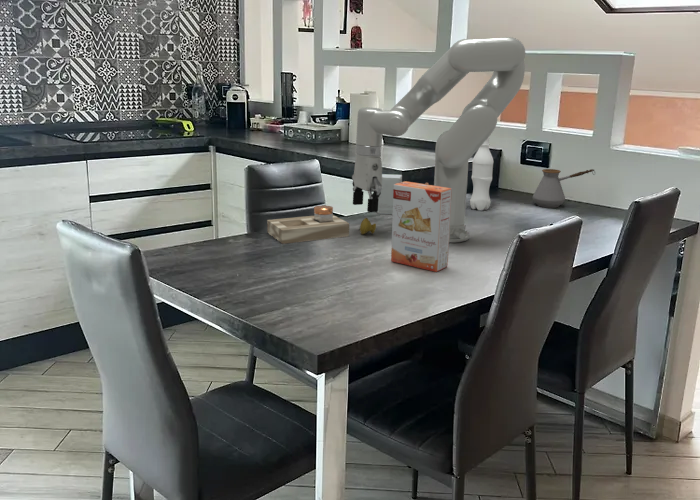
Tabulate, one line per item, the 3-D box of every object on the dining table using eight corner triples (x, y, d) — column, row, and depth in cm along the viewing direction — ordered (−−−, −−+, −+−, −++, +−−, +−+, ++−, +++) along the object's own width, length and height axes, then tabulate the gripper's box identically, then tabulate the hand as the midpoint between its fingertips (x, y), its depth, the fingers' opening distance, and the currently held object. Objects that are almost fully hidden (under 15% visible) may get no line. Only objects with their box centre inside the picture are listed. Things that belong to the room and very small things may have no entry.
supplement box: (398, 215, 229) (399, 178, 226) (376, 214, 231) (377, 177, 227) (401, 210, 236) (402, 174, 233) (380, 209, 238) (381, 173, 234)
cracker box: (389, 262, 178) (392, 183, 172) (402, 257, 182) (405, 180, 177) (436, 273, 170) (440, 190, 164) (448, 267, 174) (452, 187, 168)
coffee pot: (526, 205, 247) (530, 164, 242) (539, 200, 255) (543, 160, 251) (584, 214, 234) (589, 171, 229) (596, 209, 242) (601, 167, 238)
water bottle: (489, 207, 243) (494, 136, 236) (491, 211, 236) (496, 139, 229) (468, 206, 244) (473, 136, 237) (470, 210, 237) (474, 138, 230)
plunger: (335, 223, 203) (335, 208, 202) (318, 225, 201) (318, 210, 200) (328, 219, 208) (328, 204, 207) (311, 220, 206) (311, 206, 205)
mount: (349, 236, 202) (349, 223, 201) (282, 243, 193) (282, 230, 192) (331, 226, 213) (331, 213, 212) (267, 233, 205) (267, 220, 204)
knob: (361, 236, 203) (362, 220, 201) (358, 232, 207) (358, 216, 206) (377, 236, 203) (377, 219, 202) (373, 231, 208) (373, 215, 207)
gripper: (394, 155, 193) (389, 214, 197) (366, 146, 207) (363, 201, 212) (370, 155, 189) (366, 215, 194) (344, 146, 204) (341, 202, 209)
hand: (364, 208), depth 203 cm, fingers open, 9 cm apart
